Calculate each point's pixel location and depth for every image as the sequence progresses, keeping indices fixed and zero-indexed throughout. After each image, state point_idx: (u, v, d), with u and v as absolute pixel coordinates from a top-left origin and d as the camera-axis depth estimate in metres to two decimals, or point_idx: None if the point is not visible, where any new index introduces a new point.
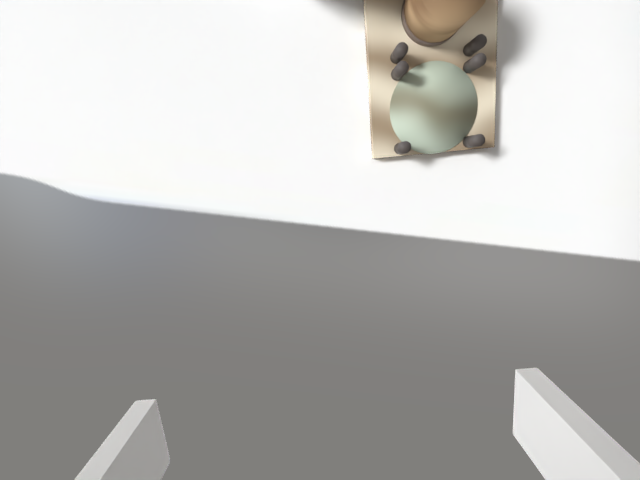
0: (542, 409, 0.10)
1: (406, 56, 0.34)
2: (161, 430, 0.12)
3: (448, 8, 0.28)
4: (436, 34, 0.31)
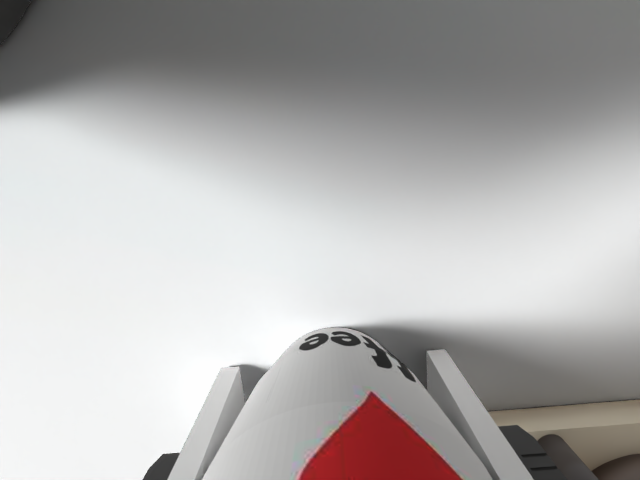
0: (439, 383, 0.12)
1: None
2: (243, 394, 0.14)
3: None
4: None
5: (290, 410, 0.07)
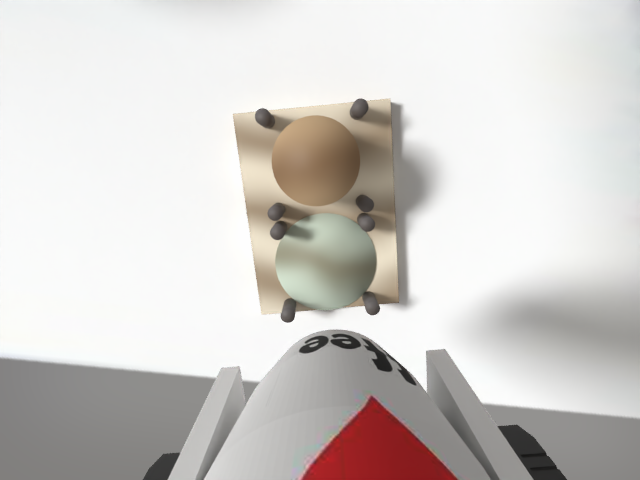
0: (439, 382, 0.12)
1: (290, 208, 0.29)
2: (243, 394, 0.14)
3: (309, 192, 0.23)
4: None
5: (290, 415, 0.07)
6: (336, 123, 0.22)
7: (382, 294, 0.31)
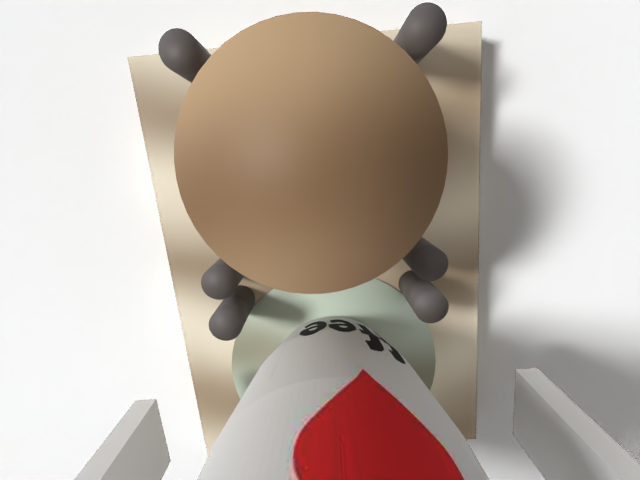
0: (542, 408, 0.10)
1: None
2: (161, 430, 0.12)
3: (291, 256, 0.08)
4: None
5: (291, 384, 0.08)
6: (377, 40, 0.07)
7: None
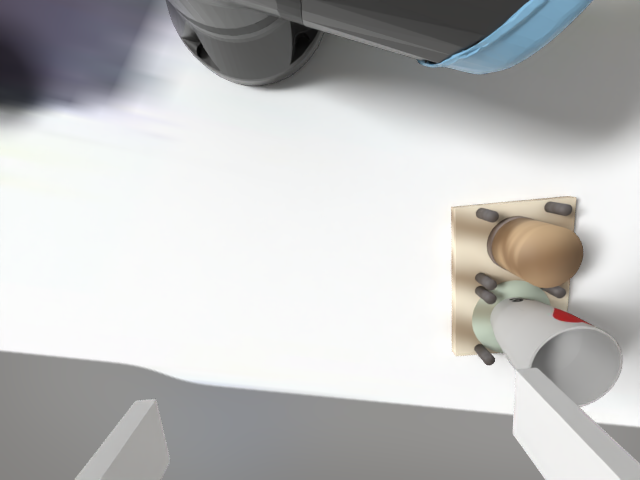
0: (542, 408, 0.10)
1: (489, 276, 0.38)
2: (161, 430, 0.12)
3: (542, 278, 0.32)
4: None
5: (537, 310, 0.32)
6: (569, 231, 0.31)
7: None
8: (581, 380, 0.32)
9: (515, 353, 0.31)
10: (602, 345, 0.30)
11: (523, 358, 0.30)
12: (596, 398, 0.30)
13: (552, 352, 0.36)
